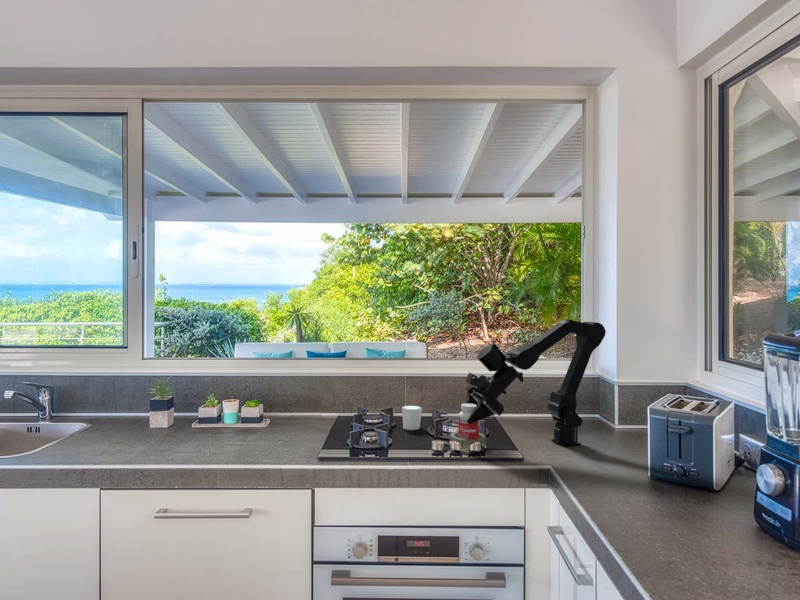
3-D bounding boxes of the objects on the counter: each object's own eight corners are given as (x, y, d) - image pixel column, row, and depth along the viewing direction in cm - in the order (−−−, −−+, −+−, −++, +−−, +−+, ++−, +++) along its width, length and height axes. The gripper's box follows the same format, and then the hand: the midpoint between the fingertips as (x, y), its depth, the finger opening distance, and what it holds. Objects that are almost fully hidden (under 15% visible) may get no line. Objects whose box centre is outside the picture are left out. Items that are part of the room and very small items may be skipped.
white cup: (419, 431, 165) (420, 410, 165) (399, 429, 166) (399, 408, 166) (422, 425, 171) (423, 405, 171) (403, 424, 173) (403, 404, 173)
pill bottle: (456, 443, 146) (456, 406, 146) (459, 438, 152) (460, 402, 152) (477, 445, 144) (478, 408, 144) (480, 440, 150) (480, 403, 150)
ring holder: (474, 440, 155) (475, 429, 155) (493, 451, 145) (493, 439, 145) (442, 443, 151) (443, 432, 151) (459, 454, 141) (460, 442, 141)
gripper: (471, 359, 158) (437, 395, 156) (494, 368, 140) (456, 408, 137) (494, 383, 160) (461, 419, 157) (519, 395, 141) (482, 435, 139)
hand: (464, 419), depth 148 cm, fingers closed on pill bottle, 6 cm apart
